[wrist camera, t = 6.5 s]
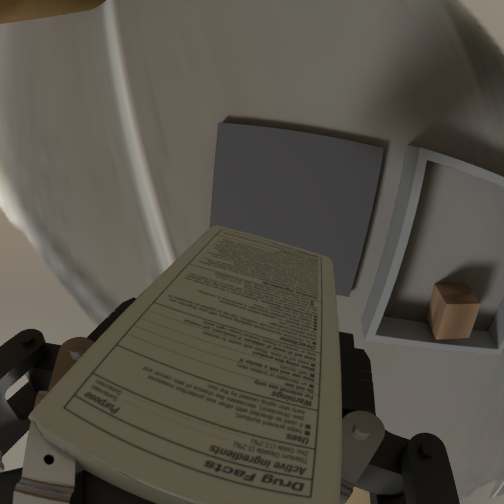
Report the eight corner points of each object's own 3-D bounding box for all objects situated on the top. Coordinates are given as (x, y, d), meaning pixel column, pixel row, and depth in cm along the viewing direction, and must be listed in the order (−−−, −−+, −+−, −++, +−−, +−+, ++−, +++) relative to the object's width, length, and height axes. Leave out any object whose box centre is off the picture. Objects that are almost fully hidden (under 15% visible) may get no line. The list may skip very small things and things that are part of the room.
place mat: (382, 147, 23) (384, 148, 22) (348, 292, 28) (349, 296, 28) (221, 122, 25) (218, 122, 24) (210, 265, 30) (207, 268, 30)
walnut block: (466, 283, 25) (480, 303, 22) (456, 315, 27) (468, 337, 23) (434, 283, 26) (446, 304, 22) (426, 316, 28) (435, 339, 24)
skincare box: (201, 293, 17) (70, 482, 6) (214, 218, 15) (15, 408, 4) (312, 327, 16) (272, 559, 5) (340, 254, 14) (343, 537, 3)
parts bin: (542, 196, 19) (561, 205, 16) (488, 336, 26) (499, 355, 23) (407, 144, 22) (419, 147, 19) (361, 319, 29) (364, 340, 26)
